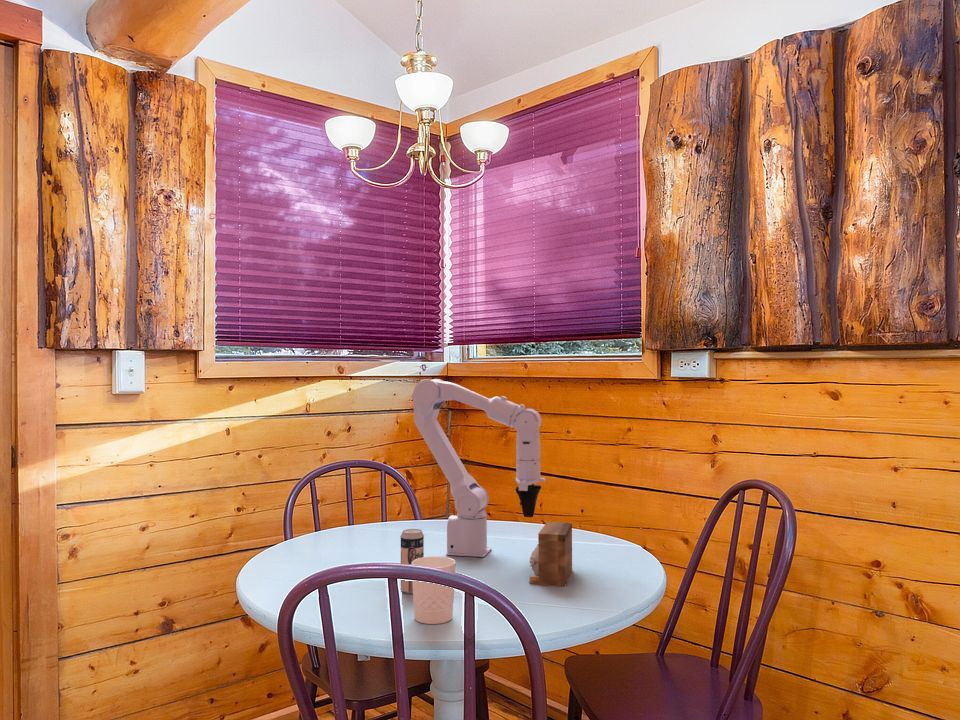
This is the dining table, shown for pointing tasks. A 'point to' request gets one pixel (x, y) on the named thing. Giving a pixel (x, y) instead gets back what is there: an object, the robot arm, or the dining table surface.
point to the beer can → (411, 552)
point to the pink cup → (433, 593)
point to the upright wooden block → (554, 554)
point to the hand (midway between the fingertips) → (528, 516)
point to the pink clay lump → (535, 561)
